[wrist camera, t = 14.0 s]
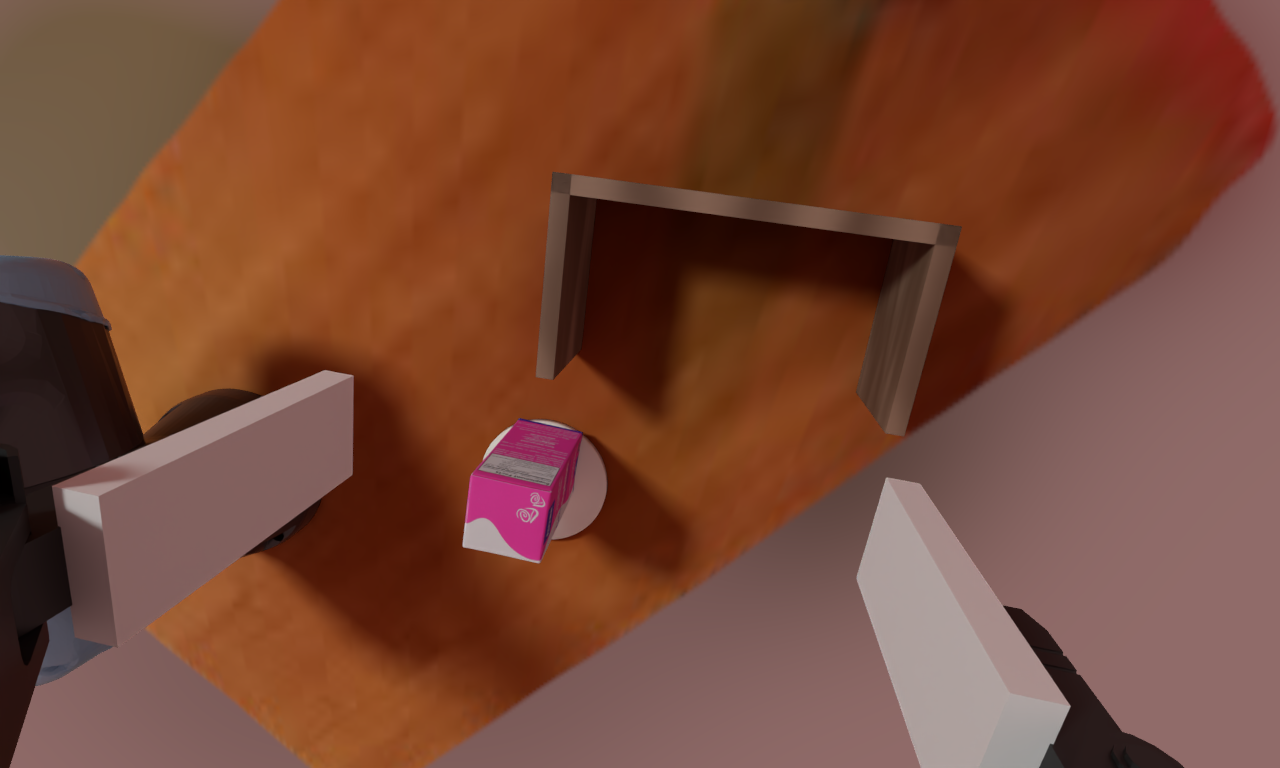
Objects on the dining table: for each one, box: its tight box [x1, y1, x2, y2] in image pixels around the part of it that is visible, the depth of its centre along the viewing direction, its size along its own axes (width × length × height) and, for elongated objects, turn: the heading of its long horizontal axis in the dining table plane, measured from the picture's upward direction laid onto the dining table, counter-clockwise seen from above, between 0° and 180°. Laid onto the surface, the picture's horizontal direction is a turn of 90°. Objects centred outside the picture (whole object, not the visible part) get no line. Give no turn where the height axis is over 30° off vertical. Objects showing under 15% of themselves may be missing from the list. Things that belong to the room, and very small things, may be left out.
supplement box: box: [463, 418, 583, 563], centre depth 47 cm, size 6×6×12 cm
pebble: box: [483, 419, 608, 539], centre depth 54 cm, size 11×11×1 cm
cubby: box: [536, 172, 962, 436], centre depth 43 cm, size 24×13×9 cm, turn 82°
